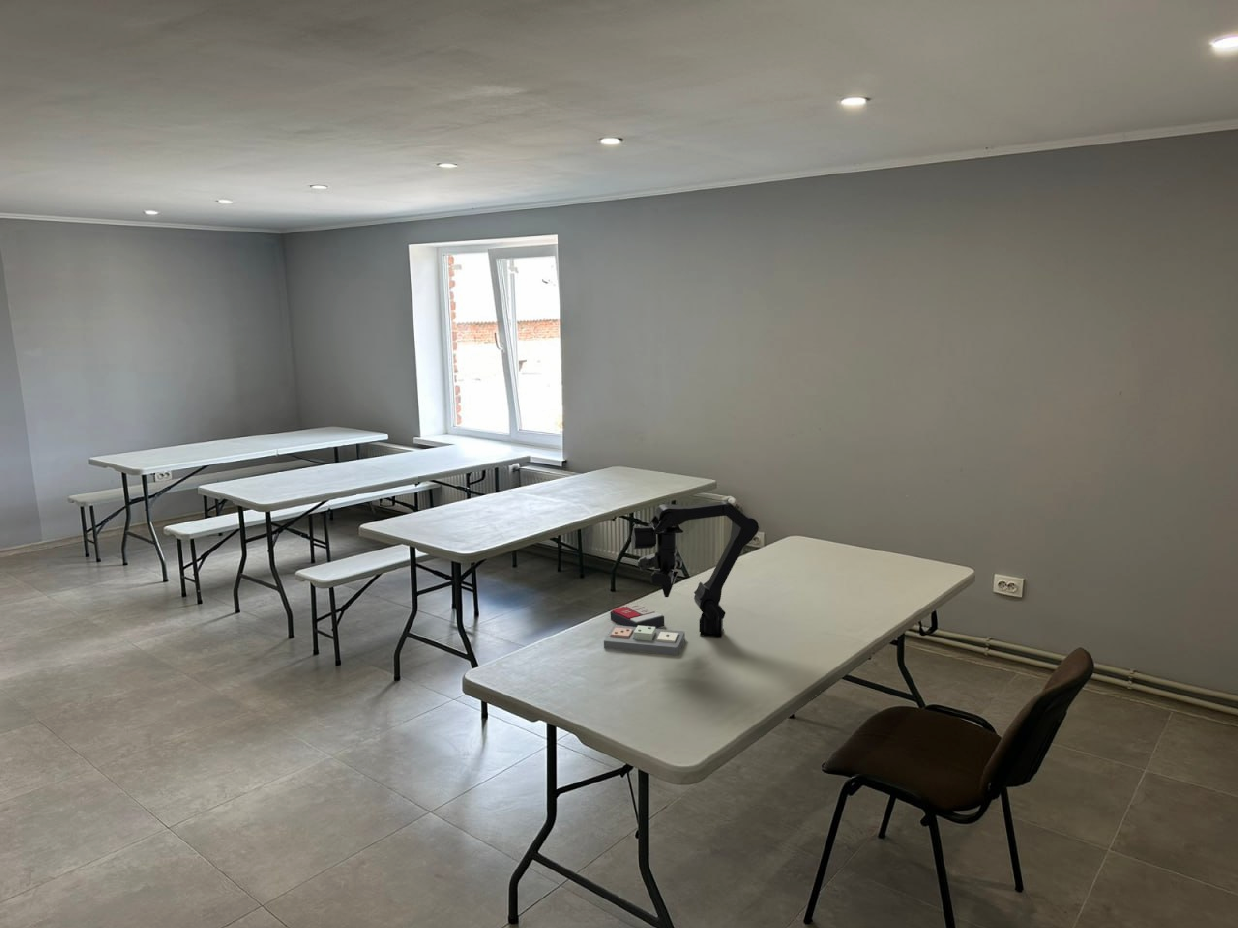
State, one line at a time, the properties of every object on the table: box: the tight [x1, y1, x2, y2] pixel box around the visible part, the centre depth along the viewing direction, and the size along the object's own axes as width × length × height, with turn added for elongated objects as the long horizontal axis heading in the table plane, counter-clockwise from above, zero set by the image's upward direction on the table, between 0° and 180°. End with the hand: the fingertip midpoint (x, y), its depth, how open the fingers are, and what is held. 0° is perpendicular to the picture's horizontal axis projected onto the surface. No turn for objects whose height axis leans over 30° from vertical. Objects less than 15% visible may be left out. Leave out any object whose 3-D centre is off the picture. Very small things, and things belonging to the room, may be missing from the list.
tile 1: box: [657, 632, 678, 643], centre depth 238 cm, size 5×5×3 cm
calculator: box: [609, 603, 665, 629], centre depth 256 cm, size 11×4×15 cm
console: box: [603, 624, 685, 656], centre depth 240 cm, size 22×12×2 cm, turn 75°
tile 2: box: [634, 625, 655, 641], centre depth 239 cm, size 5×5×3 cm
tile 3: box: [611, 628, 633, 639], centre depth 241 cm, size 5×5×3 cm
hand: (666, 596), depth 242 cm, fingers closed
